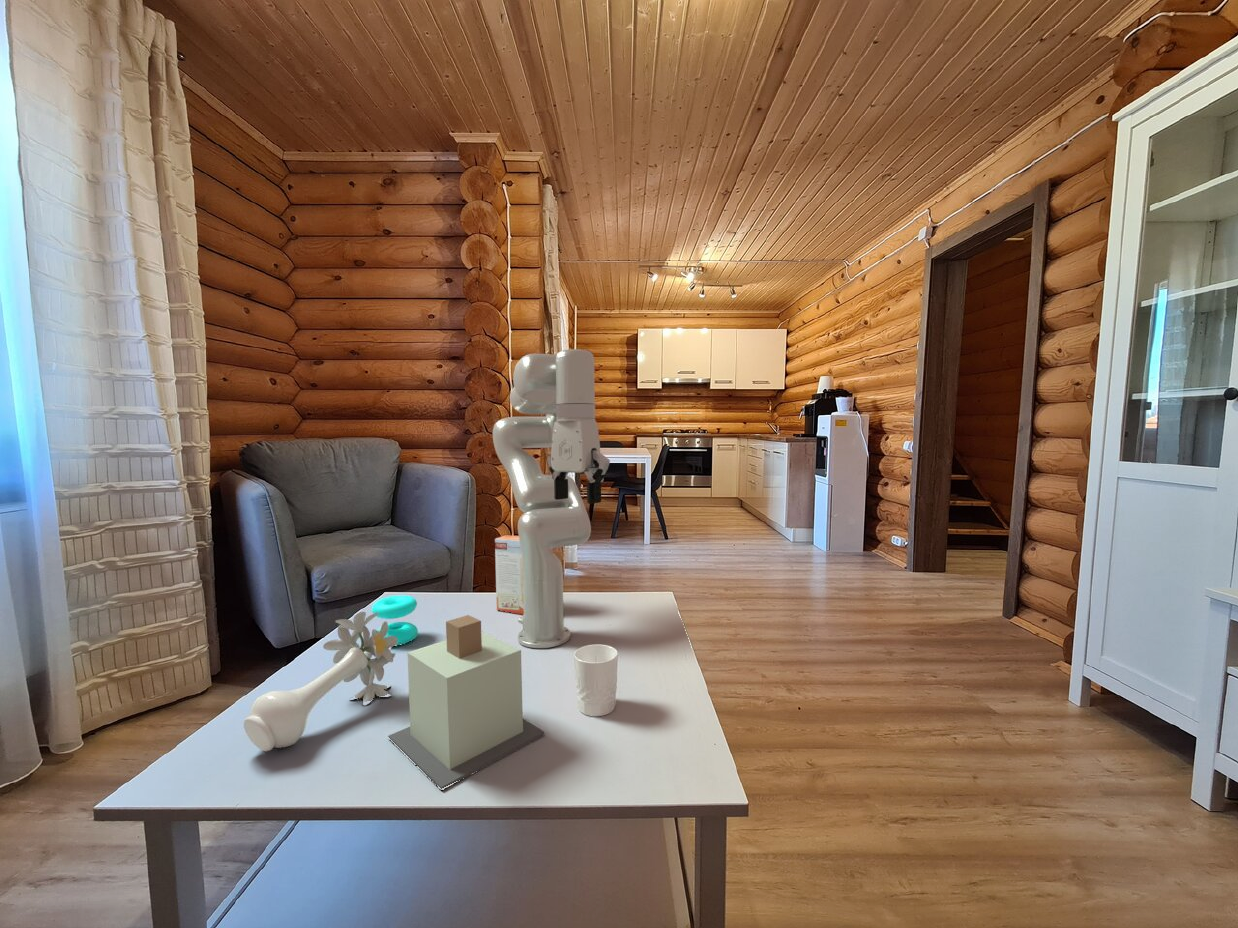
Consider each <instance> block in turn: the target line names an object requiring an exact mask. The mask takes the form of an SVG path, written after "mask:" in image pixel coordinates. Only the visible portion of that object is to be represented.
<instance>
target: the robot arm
mask: <svg viewBox="0 0 1238 928" xmlns="http://www.w3.org/2000/svg"><path fill="white" fill-rule="evenodd" d="M512 376H513V378H512V380H513V388H512V389H511V391H510V394H509V401H510V405H511V407H513V409H514V410H515V411H517V412H519V413H520V414H522V415H523V414H524V415H546V416H510V417H509V416H508V417H504V418H501V419H499V420H497V421H496V422H495V423H494V425H493V428H492V440H493V441H492V442H493V446H494V450H495V453H496V455H497V458H498V460H499V461H500V463H501V465H502V466H503V468H504V469H505V471H506V472H507V475H508V478H509V482H510V484H511V488H512V492H513V496H514V499H515V502H516V505H517V508H518V509H519V510H520V511H521V512H523V513H522V515H521V516H519V518H518V521H517V533H518V536H519V539H520V545H521V551H522V563H523V597H524V614H523V615H522V617H519V618H518V620H517V622H518V623H519V624H521V625H522V630H520V632H519V633H518V634H517V642H518V643H519V644H520V645H522V646H524V647H526V648H532V649H549V648H553V647H558V646H560V645H563V644H566V643H567V642H568V641H569V640H570V638H571V630H570V629H569V628H568V627H566V626H565V625H564V624H565V623H564V621H565V620H564V618H565V616H564V615H565V614H564V574H563V565H562V562H561V560H560V559H559V558H558V557H557V555H556V554H555V553H554V552H553V549H557V548H562V547H571V546H577V545H582V544H585V543H586V542H587V541H588V540H589V538H591V537H590V536H591V533H592V525H591V521H590V517H589V514H588V511H587V508H586V506H585V504H584V500H583V498H582V495H581V492H580V491H579V487H578V486H577V484H576V483H577V482H576V481H575V480H574V479H573V478H572V477H571V476H570V475H568V474H570V473H576V474H577V473H578V474H579V473H584V475H585V476H586V479H587V480H588V482H587V483H586V503H587V504H588V505H591V504H598V503H601V502H602V482H604V480H605V479H604V478H605V477H606V475H607V474H608V469H609V466H610V464H611V463H610V462H611V460H610V459H609V458H608V457H606V456H605V455H603V453H601V443H600V435H599V428H598V423H597V420H596V405H595V404H596V403H595V402H596V397H595V394H596V393H595V392H596V391H595V389H596V388H595V357H594V355H593V353H592V352H591V351H589V350H587V349H579V348H575V349H572V348H570V349H563V350H560V351H558V353H556V354H553V353H552V354H551V353H529V354H526V355H524V356H522V357H521V358H520V359H519V360H518V361H517V363H516V364H515V367H514V370H513V375H512ZM538 448H539V449H540V448H541V449H543V448H547V449H548V448H551V450H550V451H551V454H550V455H549V456H547V458H546V462H547V464H548V467H549V468H548V470H549V472H550V474H548V475H547V474H544V473H543V471H542V468H541V465H540V463H539V462H538V460H537V459H536V458H535V457H534V456H533V455H531V454H530V453H529V452H527V451H526V450H525V449H538Z"/></svg>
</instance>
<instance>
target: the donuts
mask: <svg viewBox="0 0 1238 928" xmlns="http://www.w3.org/2000/svg"><path fill="white" fill-rule="evenodd" d="M417 606H418V601H417V600H416V598H415V597H413V596H410V595H406V594H405V595H404V594H403V595H401V594H400V595H399V594H398V595H392V596H387V597H382V598H381V599H378V600H377V601H375V602H374V603H373V604H372V606H371V612H372V614H375V613H379V614H378V615H377V616H376V617H377V618H379V619H381V620H382V619H385V620H394V619H399V618H403V617H406V616H408V615H411V614H412V613H413V612H414V611H415V610H416V609H417ZM387 624H388V632H387V635H386V636H385V637H388V636H395V637H396V638H397V639H398V643H397V644H396V645H400V644H404V643H407V642H409V641H411V642H412V640H413V639H414V640H416V638H417V636H418V634H419V630H418V627H417V626H416V625H415V624H413V623H412V622H408V621H396V622H391V623H387ZM380 629H381V627H379V628H378V629H377V631H378V630H380ZM385 637H384V638H385ZM414 640H413V641H414ZM409 643H410V642H409ZM407 644H408V643H407ZM404 645H405V644H404Z"/></svg>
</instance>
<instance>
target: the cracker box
mask: <svg viewBox="0 0 1238 928" xmlns="http://www.w3.org/2000/svg"><path fill="white" fill-rule="evenodd" d="M494 546H495V547H494V551H495V552H494V554H495V555H494V557H495V559H494V560H495V588H496V589H495V593H496V596H495V597H496V611H497V610H500V611H499V612H503V611H505V612H504V613H509V612H511V613H512V614H517V615H522V616H523V614H524V597H523V563H522V551H521V545H520V539H519V535H502V536H499V537H496V538H494Z"/></svg>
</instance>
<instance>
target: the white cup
mask: <svg viewBox="0 0 1238 928" xmlns="http://www.w3.org/2000/svg"><path fill="white" fill-rule="evenodd" d="M618 656H619V651H618V650H617V649H616V648H615V647H613V646H611V645H608V644H598V643H597V644H596V643H595V644H588V645H587V644H586V645H584V646H581V647H579V648H578V649H576V650H575V651H574V653H573V658H574V675H575V686H576V695H577V706H578V707H577V708H578V710H579V712H581V713H582V714H584V715H586V716H590V717H603V716H605V715H609V714H610V713H612V712H613V711H614V710H615V708H616V699H617V698H616V697H617V683H618V661H619V660H618V658H619V657H618Z"/></svg>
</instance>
